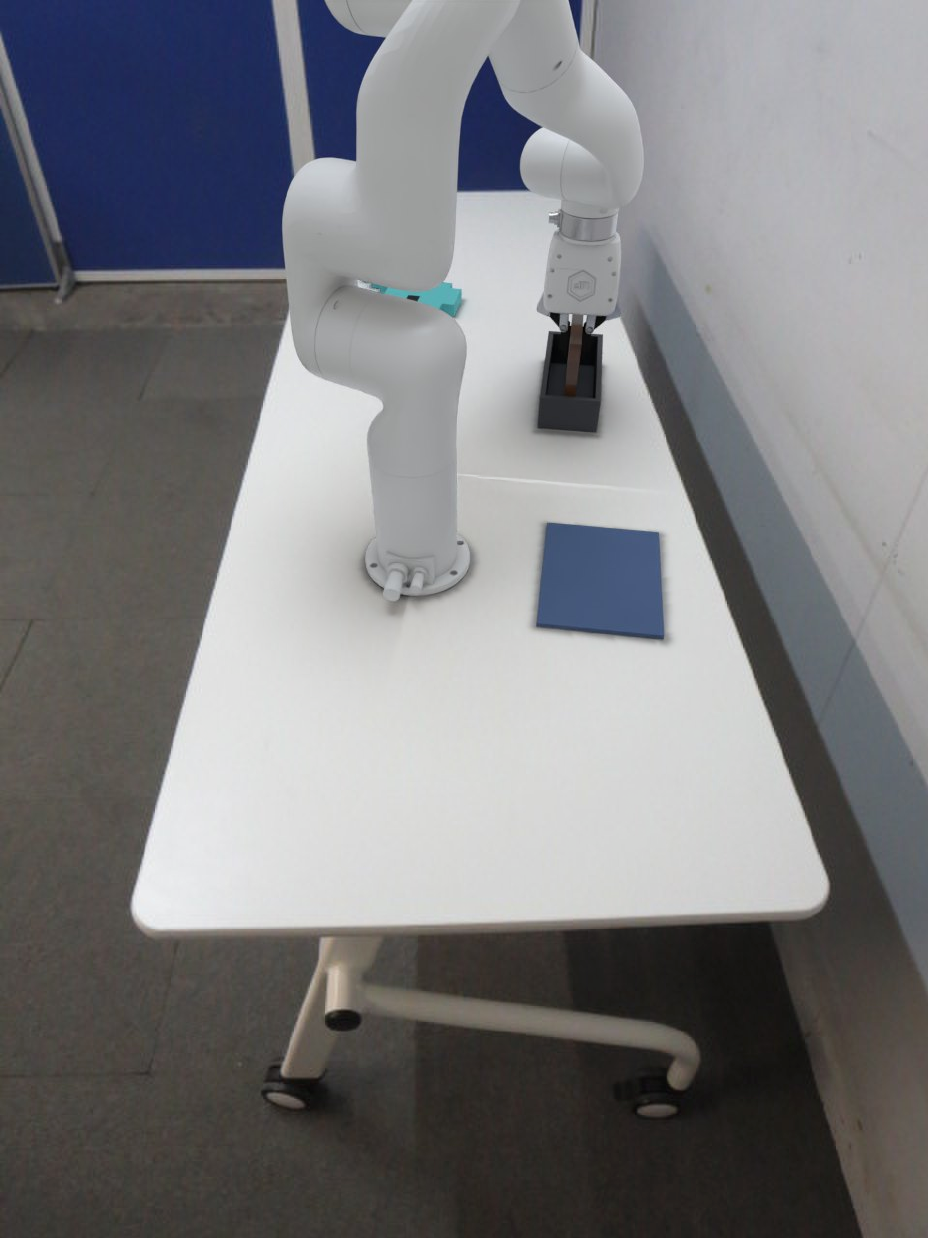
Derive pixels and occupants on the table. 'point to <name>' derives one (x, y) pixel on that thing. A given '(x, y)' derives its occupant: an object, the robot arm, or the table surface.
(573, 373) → the board
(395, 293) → the alien figure
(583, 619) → the mat
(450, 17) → the robot arm
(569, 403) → the bin
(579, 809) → the table surface
